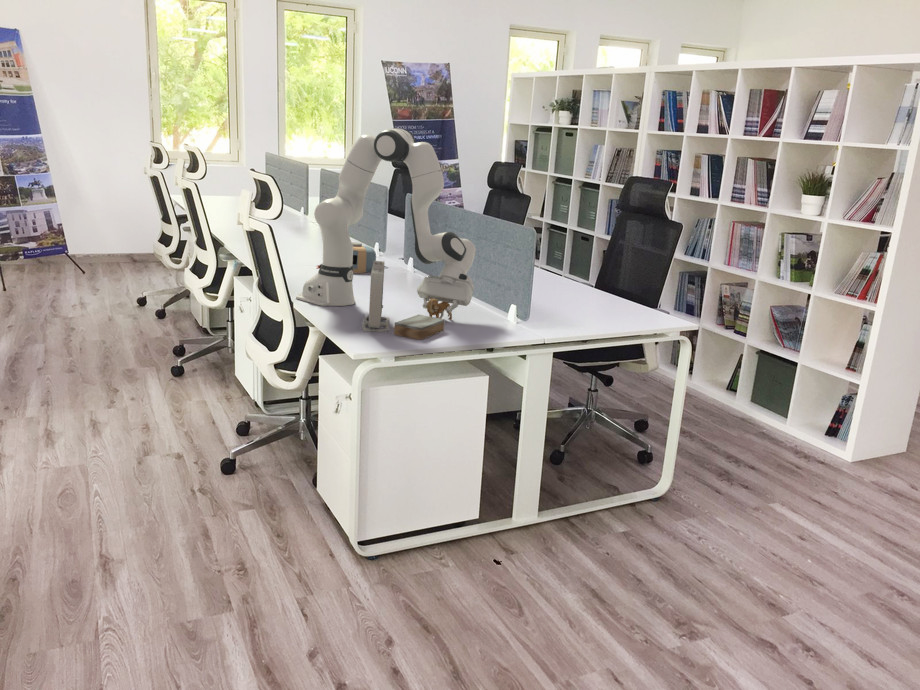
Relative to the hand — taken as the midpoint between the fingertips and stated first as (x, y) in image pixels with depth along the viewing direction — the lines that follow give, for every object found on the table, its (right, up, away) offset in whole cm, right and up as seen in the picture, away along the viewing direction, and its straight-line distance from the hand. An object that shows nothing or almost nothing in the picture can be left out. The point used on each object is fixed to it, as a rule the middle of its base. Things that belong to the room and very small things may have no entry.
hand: (436, 309), depth 281 cm
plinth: (-5, -8, -15) cm, 18 cm away
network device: (-20, -6, -9) cm, 23 cm away
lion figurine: (+1, -4, +3) cm, 5 cm away
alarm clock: (-41, +23, +90) cm, 101 cm away
